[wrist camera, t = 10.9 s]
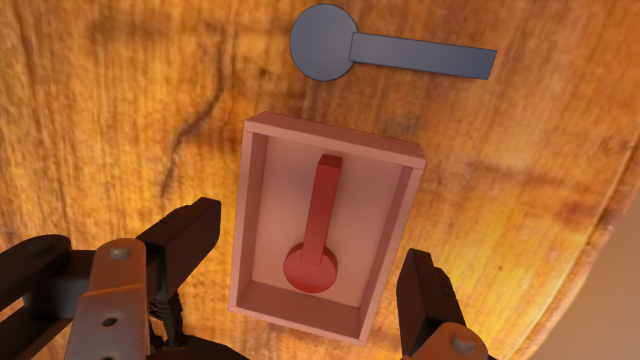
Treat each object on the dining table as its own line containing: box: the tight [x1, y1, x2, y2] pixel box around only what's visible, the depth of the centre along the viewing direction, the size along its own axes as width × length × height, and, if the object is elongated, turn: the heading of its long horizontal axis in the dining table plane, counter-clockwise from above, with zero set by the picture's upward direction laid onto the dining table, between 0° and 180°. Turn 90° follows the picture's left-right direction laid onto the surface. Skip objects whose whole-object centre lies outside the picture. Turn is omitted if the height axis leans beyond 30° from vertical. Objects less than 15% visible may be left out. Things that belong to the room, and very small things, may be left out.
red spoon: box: [283, 154, 343, 294], centre depth 21 cm, size 11×4×2 cm, turn 170°
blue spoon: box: [290, 4, 497, 81], centre depth 17 cm, size 11×4×2 cm, turn 83°
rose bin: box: [228, 111, 427, 347], centre depth 21 cm, size 14×10×4 cm
